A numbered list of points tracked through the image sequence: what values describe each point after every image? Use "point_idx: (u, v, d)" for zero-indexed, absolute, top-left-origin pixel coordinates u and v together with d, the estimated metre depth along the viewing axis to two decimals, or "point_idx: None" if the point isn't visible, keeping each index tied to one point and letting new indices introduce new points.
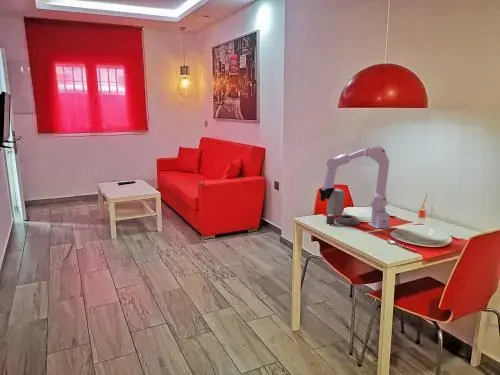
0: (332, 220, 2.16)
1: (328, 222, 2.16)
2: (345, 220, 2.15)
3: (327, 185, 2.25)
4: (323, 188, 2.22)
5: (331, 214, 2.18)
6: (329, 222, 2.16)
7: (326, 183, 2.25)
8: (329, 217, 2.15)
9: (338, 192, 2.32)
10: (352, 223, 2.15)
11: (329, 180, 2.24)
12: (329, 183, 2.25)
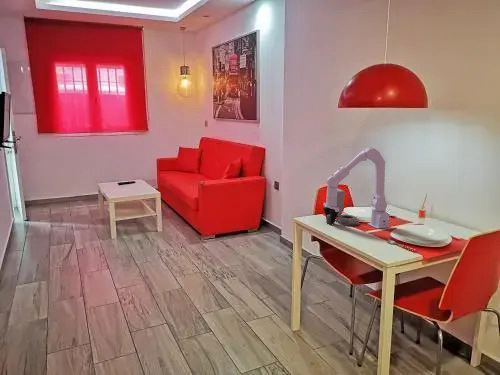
0: None
1: (328, 222, 2.16)
2: (345, 220, 2.15)
3: (334, 205, 2.13)
4: (338, 209, 2.09)
5: None
6: (329, 222, 2.16)
7: (333, 204, 2.13)
8: (329, 217, 2.15)
9: (338, 192, 2.32)
10: (352, 223, 2.15)
11: (335, 200, 2.13)
12: (335, 203, 2.14)
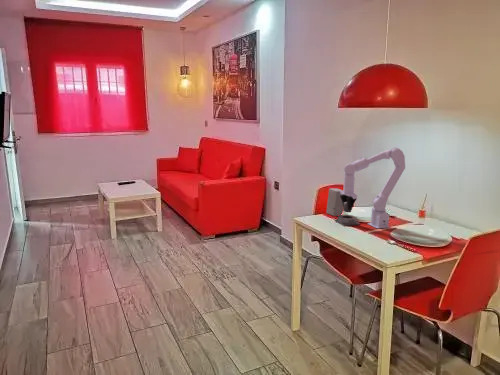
0: None
1: (345, 209, 2.17)
2: (345, 220, 2.15)
3: (352, 193, 2.14)
4: (355, 196, 2.10)
5: None
6: (346, 209, 2.16)
7: (350, 191, 2.14)
8: (346, 204, 2.16)
9: (338, 192, 2.32)
10: (352, 223, 2.15)
11: (353, 187, 2.14)
12: (353, 190, 2.14)
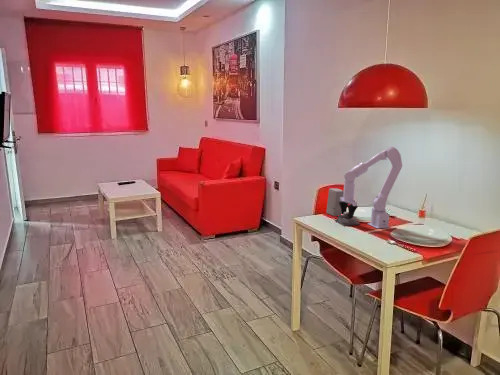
0: None
1: None
2: (345, 220, 2.15)
3: (352, 200, 2.15)
4: (355, 204, 2.11)
5: (348, 212, 2.20)
6: None
7: (350, 198, 2.15)
8: (346, 214, 2.17)
9: (338, 192, 2.32)
10: (352, 223, 2.15)
11: (352, 194, 2.15)
12: (353, 197, 2.15)
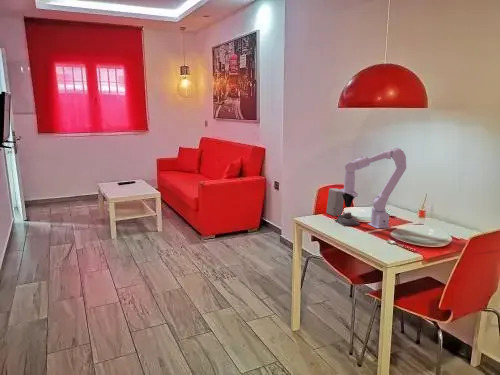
0: (349, 217, 2.17)
1: None
2: (345, 220, 2.15)
3: (352, 191, 2.14)
4: (356, 195, 2.10)
5: (347, 212, 2.20)
6: None
7: (351, 189, 2.14)
8: (346, 214, 2.17)
9: (338, 192, 2.32)
10: (352, 223, 2.15)
11: (353, 185, 2.14)
12: (353, 188, 2.14)
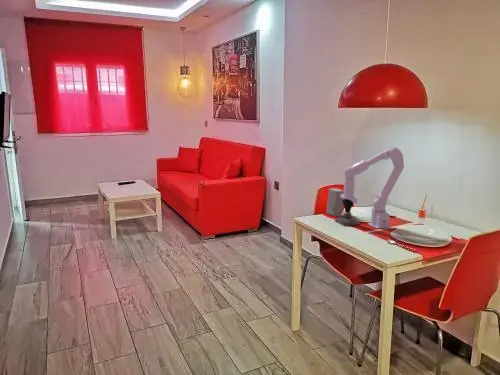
0: (349, 217, 2.17)
1: None
2: (345, 220, 2.15)
3: (352, 196, 2.15)
4: (355, 200, 2.11)
5: None
6: None
7: (350, 195, 2.14)
8: (346, 215, 2.17)
9: (338, 192, 2.32)
10: (352, 223, 2.15)
11: (353, 191, 2.14)
12: (353, 194, 2.15)
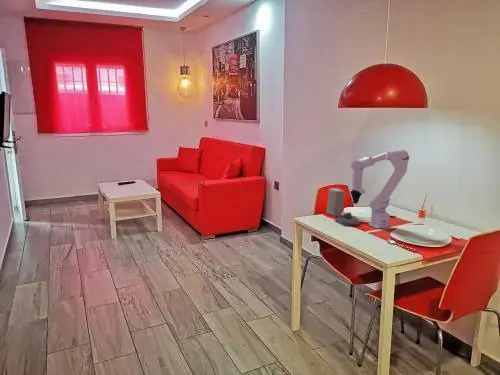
0: (349, 217, 2.17)
1: None
2: (345, 220, 2.15)
3: (360, 188, 2.21)
4: (363, 191, 2.17)
5: (348, 212, 2.20)
6: None
7: (358, 186, 2.21)
8: (346, 215, 2.17)
9: (338, 192, 2.32)
10: (352, 223, 2.15)
11: (361, 182, 2.21)
12: (361, 185, 2.21)
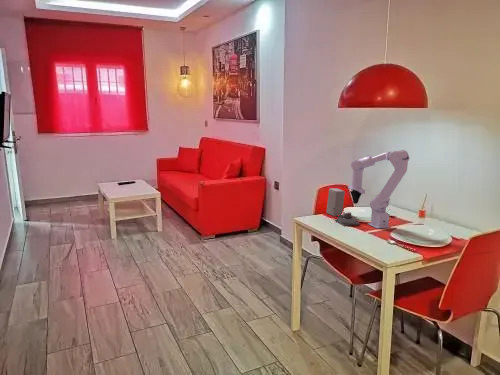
0: (349, 217, 2.17)
1: None
2: (345, 220, 2.15)
3: (360, 188, 2.21)
4: (363, 191, 2.17)
5: (348, 212, 2.20)
6: None
7: (358, 186, 2.21)
8: (346, 214, 2.17)
9: (338, 192, 2.32)
10: (352, 223, 2.15)
11: (361, 182, 2.21)
12: (361, 185, 2.21)
